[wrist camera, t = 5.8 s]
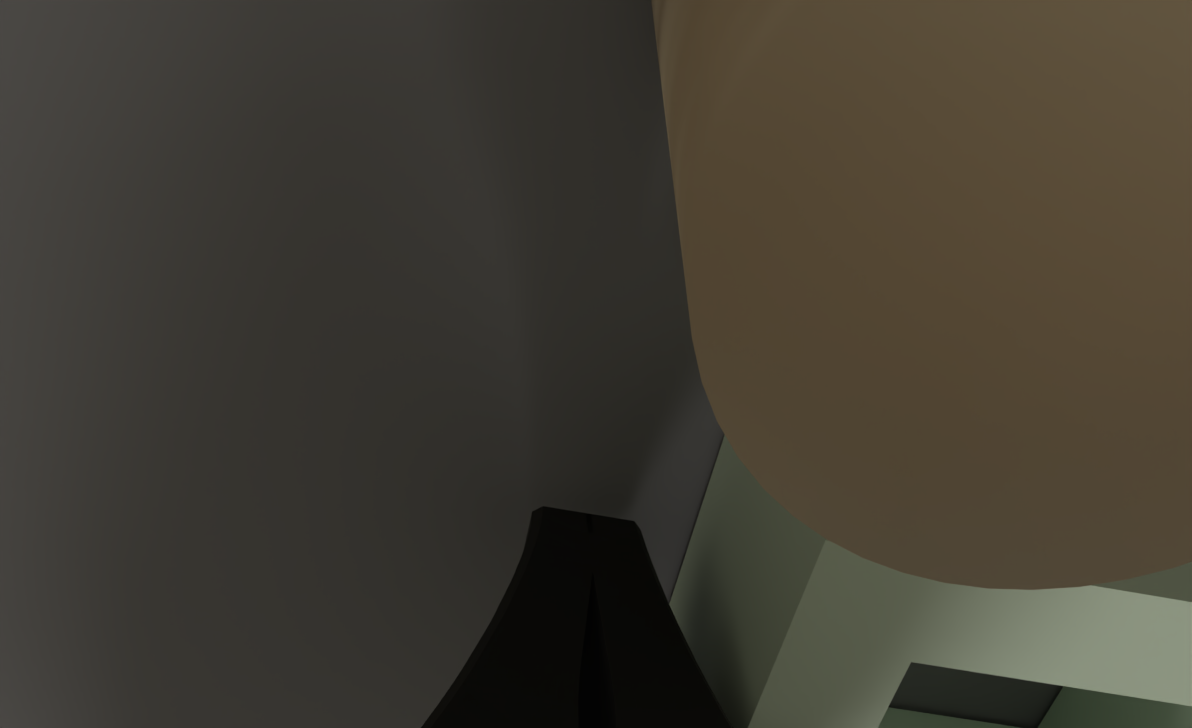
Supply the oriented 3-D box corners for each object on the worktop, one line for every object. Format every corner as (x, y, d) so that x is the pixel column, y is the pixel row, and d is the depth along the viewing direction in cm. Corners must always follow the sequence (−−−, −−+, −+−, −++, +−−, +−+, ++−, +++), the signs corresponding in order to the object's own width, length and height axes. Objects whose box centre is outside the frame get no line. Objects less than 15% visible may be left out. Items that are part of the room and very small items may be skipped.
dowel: (920, 154, 11) (1258, 640, 5) (612, 83, 11) (606, 519, 5) (1062, -194, 10) (1805, -51, 4) (701, -292, 9) (854, -309, 3)
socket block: (1076, 791, 17) (1198, 1068, 13) (629, 725, 16) (634, 999, 12) (1330, 420, 13) (1591, 669, 9) (764, 314, 12) (825, 541, 9)
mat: (1200, 984, 20) (1210, 1005, 20) (-101, 814, 18) (-116, 835, 18) (2130, -34, 11) (2179, -25, 10) (-425, -681, 8) (-470, -700, 8)
